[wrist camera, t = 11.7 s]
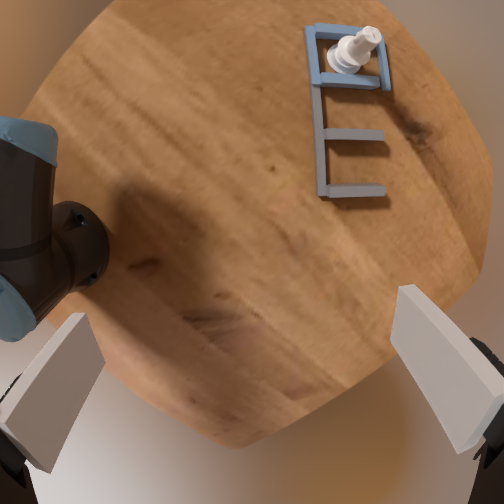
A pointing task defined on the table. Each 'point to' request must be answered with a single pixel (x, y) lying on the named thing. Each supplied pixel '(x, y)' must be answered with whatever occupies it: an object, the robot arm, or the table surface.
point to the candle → (353, 50)
